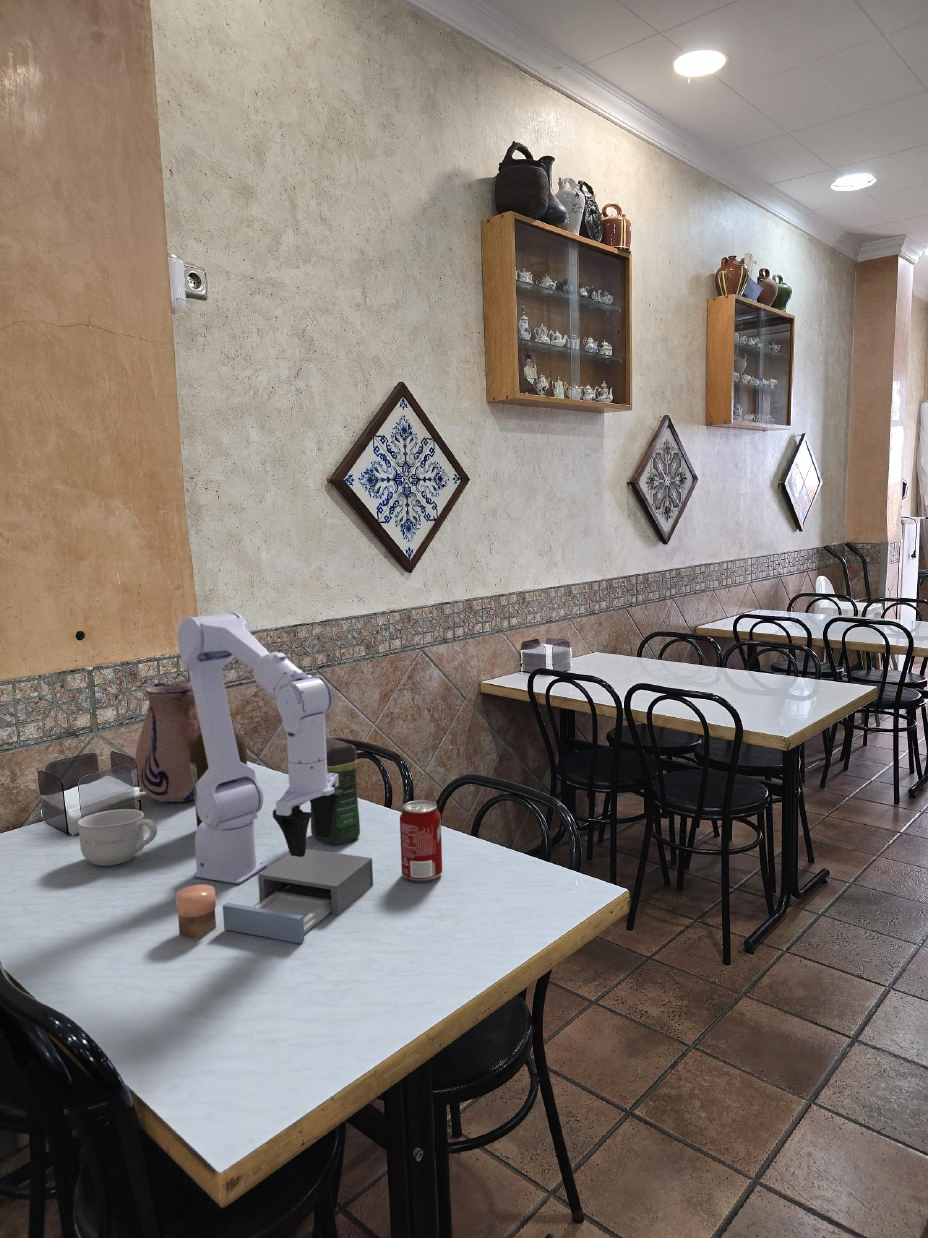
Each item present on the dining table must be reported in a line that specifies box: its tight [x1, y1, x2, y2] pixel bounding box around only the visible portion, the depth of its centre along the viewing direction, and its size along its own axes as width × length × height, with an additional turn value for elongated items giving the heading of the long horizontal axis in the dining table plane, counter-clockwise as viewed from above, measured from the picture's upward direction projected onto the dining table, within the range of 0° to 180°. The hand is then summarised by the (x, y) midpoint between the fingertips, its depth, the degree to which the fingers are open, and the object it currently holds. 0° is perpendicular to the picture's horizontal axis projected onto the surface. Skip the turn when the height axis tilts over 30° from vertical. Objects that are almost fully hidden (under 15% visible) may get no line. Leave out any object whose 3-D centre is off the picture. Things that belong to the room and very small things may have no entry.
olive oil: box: [190, 730, 248, 830], centre depth 159 cm, size 11×11×25 cm
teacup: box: [77, 808, 158, 867], centre depth 146 cm, size 14×11×8 cm
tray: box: [222, 891, 332, 944], centre depth 122 cm, size 13×11×4 cm
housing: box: [257, 848, 374, 917], centre depth 131 cm, size 14×11×5 cm
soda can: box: [399, 799, 443, 883], centre depth 136 cm, size 7×7×12 cm
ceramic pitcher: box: [134, 680, 201, 803], centre depth 180 cm, size 18×21×25 cm
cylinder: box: [175, 884, 217, 917], centre depth 119 cm, size 5×5×2 cm
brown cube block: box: [177, 908, 217, 940], centre depth 119 cm, size 4×4×4 cm
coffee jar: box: [310, 737, 361, 845], centre depth 155 cm, size 10×8×19 cm
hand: (311, 846), depth 125 cm, fingers open, 7 cm apart
